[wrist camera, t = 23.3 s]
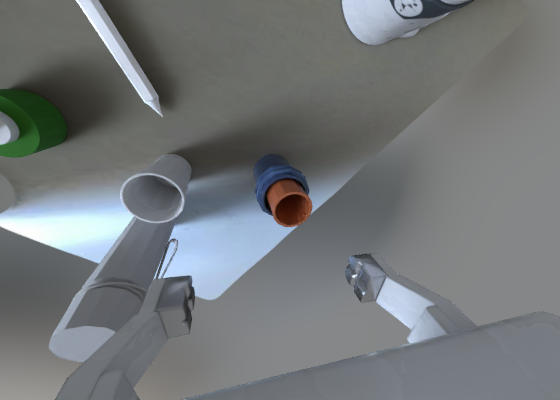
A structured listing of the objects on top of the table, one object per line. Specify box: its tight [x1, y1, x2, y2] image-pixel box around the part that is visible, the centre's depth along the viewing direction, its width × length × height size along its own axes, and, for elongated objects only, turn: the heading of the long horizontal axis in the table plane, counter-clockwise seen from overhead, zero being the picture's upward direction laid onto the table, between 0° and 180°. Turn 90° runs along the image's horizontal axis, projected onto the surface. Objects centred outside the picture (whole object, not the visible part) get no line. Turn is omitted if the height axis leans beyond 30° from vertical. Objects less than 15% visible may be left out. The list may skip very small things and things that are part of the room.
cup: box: [120, 154, 191, 223], centre depth 34 cm, size 8×8×12 cm
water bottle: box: [49, 216, 178, 362], centre depth 32 cm, size 9×8×25 cm
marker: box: [76, 0, 163, 117], centre depth 29 cm, size 3×2×16 cm
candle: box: [0, 89, 67, 157], centre depth 26 cm, size 8×8×10 cm
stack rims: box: [255, 164, 309, 213], centre depth 35 cm, size 9×9×2 cm
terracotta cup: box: [265, 178, 312, 227], centre depth 34 cm, size 6×6×10 cm
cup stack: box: [254, 154, 308, 216], centre depth 38 cm, size 8×8×12 cm
